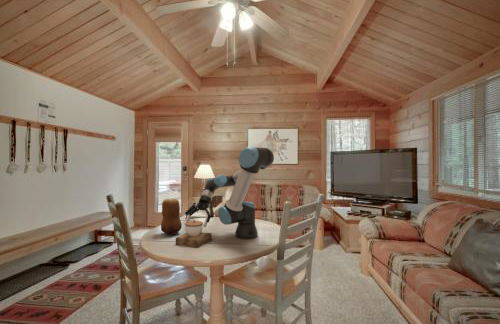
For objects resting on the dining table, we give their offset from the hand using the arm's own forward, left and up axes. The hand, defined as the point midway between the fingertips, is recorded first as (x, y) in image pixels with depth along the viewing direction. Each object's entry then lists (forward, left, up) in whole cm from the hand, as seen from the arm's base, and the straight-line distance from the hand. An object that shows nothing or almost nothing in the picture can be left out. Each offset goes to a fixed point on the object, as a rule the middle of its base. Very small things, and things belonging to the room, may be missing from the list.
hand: (194, 225), depth 163 cm
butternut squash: (+24, -8, -10) cm, 27 cm away
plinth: (0, +1, -10) cm, 10 cm away
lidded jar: (0, +1, -6) cm, 6 cm away
